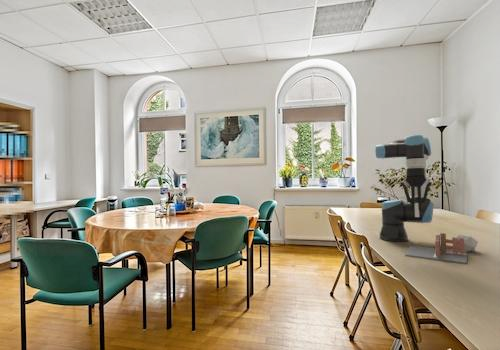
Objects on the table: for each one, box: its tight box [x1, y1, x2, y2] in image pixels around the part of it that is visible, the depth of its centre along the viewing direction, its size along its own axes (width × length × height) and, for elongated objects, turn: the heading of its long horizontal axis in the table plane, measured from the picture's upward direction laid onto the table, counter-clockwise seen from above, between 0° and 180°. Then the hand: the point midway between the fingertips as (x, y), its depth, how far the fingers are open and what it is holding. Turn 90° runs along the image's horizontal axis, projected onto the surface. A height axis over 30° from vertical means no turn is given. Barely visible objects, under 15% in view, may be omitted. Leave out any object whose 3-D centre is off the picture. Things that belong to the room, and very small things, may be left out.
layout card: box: [404, 245, 468, 265], centre depth 131 cm, size 20×23×1 cm
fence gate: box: [434, 234, 441, 257], centre depth 129 cm, size 13×2×7 cm, turn 144°
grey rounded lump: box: [456, 234, 479, 253], centre depth 135 cm, size 8×9×10 cm
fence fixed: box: [439, 232, 465, 254], centre depth 130 cm, size 9×2×9 cm, turn 51°
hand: (417, 216), depth 131 cm, fingers closed
